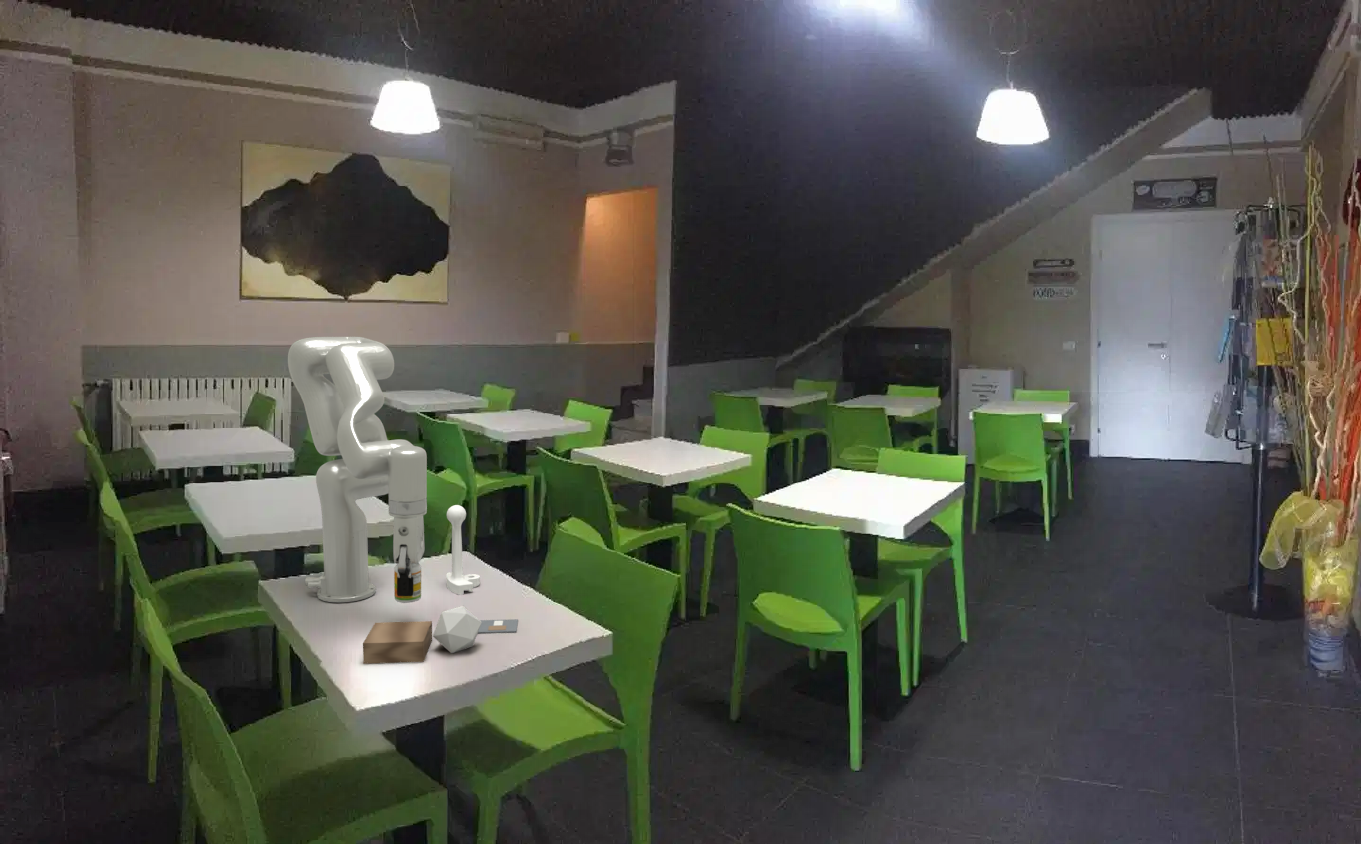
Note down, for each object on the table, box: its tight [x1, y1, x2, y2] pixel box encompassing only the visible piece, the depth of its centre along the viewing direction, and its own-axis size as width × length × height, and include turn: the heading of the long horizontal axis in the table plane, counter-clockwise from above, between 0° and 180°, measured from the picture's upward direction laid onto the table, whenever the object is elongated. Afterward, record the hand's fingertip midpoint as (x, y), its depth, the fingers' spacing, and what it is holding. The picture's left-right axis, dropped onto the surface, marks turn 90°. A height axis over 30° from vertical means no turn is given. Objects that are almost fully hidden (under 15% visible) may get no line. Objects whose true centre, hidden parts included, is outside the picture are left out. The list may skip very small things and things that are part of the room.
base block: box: [362, 620, 433, 665], centre depth 174 cm, size 11×11×4 cm
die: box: [432, 605, 482, 654], centre depth 177 cm, size 8×9×10 cm
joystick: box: [445, 504, 481, 596], centre depth 214 cm, size 11×8×20 cm
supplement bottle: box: [393, 560, 422, 604], centre depth 188 cm, size 5×5×10 cm
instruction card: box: [477, 618, 519, 635], centre depth 189 cm, size 8×7×1 cm
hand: (407, 589), depth 188 cm, fingers closed on supplement bottle, 5 cm apart
